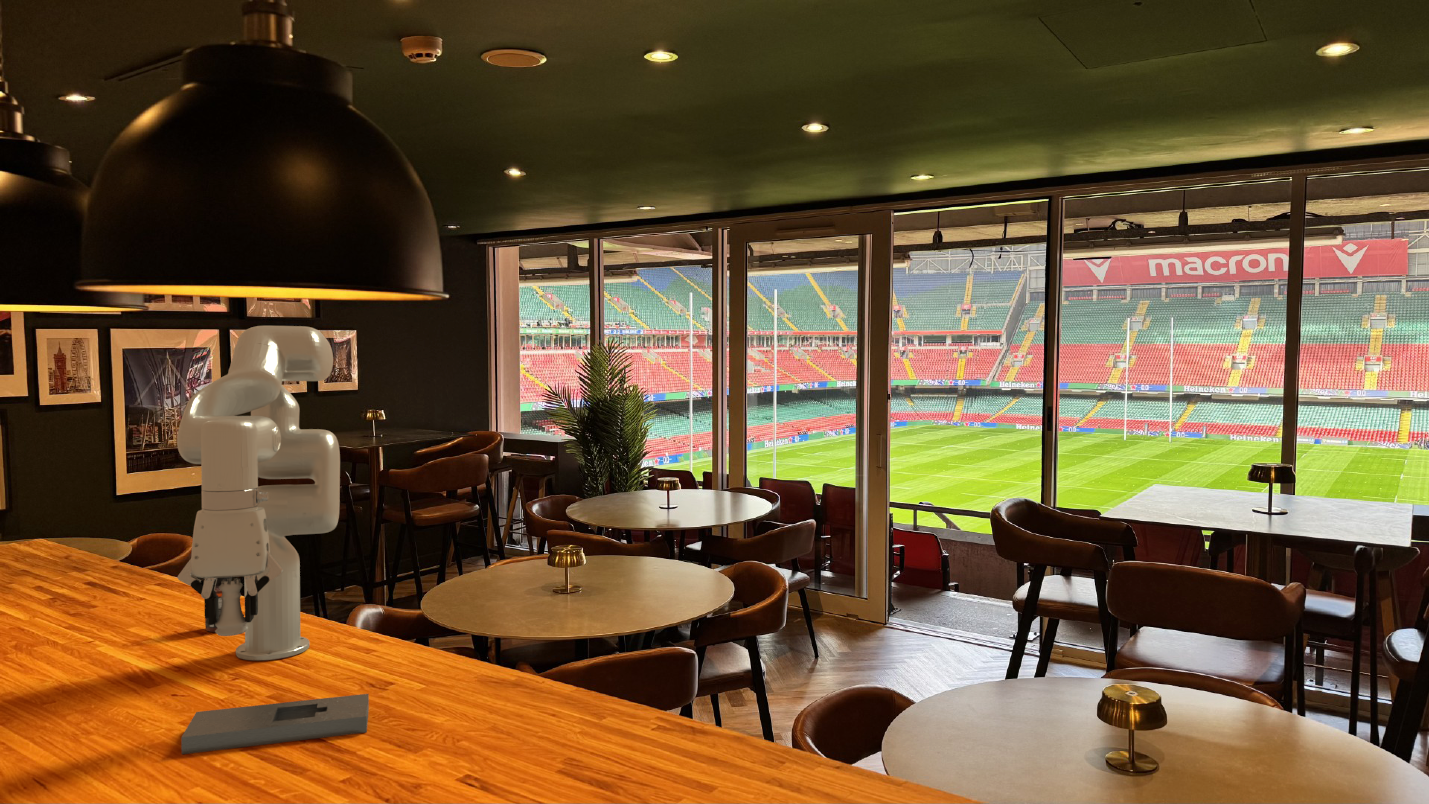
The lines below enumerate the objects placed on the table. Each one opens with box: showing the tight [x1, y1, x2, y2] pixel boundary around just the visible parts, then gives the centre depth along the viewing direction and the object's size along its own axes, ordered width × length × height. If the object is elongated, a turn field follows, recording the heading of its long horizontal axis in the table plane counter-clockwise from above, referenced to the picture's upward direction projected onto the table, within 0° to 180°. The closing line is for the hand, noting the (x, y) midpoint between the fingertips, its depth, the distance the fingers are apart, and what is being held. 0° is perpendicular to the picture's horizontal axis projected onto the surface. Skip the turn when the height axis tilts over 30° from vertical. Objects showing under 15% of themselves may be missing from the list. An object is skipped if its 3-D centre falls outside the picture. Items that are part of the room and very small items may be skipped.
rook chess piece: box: [214, 577, 248, 637], centre depth 137 cm, size 4×4×8 cm
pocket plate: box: [180, 693, 370, 755], centre depth 135 cm, size 10×24×2 cm, turn 109°
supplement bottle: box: [204, 577, 233, 633], centre depth 188 cm, size 6×6×11 cm
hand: (231, 620), depth 137 cm, fingers closed on rook chess piece, 4 cm apart
